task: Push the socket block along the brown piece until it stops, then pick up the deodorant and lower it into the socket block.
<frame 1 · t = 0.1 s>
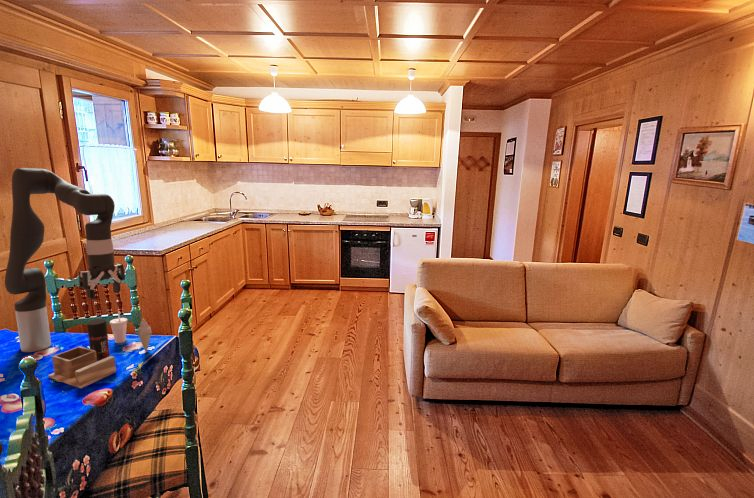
hand: (104, 295, 132), 29 cm above the table, fingers open, 8 cm apart
deodorant: (100, 357, 147), on the table
smoothie: (120, 341, 161), on the table
socket block: (75, 361, 134), point 4 cm above the table, slide at 0.0 cm
brown piece: (83, 374, 134), on the table
ice cream cone: (146, 351, 153), on the table
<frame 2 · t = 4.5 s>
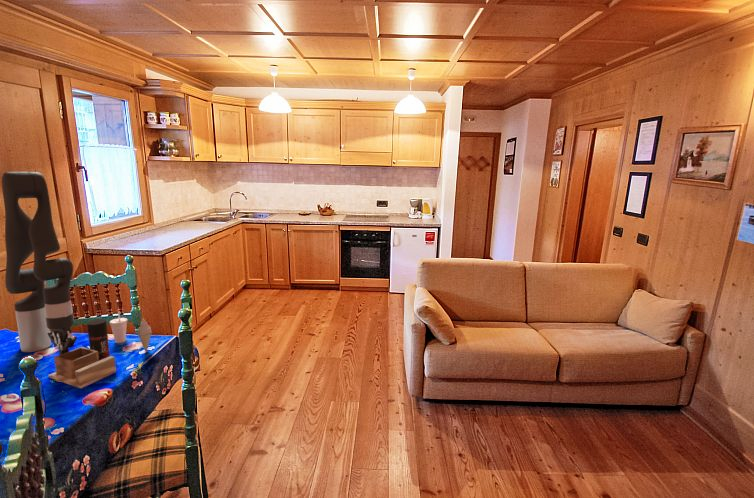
hand: (64, 357, 136), 5 cm above the table, fingers closed
socket block: (77, 362, 134), point 4 cm above the table, slide at 1.1 cm, touching gripper
everything else where it was.
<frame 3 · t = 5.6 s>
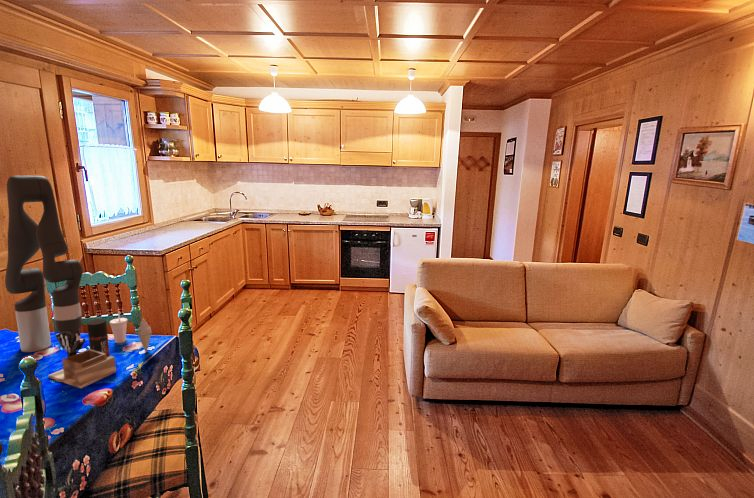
hand: (72, 360, 134), 5 cm above the table, fingers closed
socket block: (85, 364, 132), point 4 cm above the table, slide at 5.5 cm, touching brown piece, gripper
everything else where it was.
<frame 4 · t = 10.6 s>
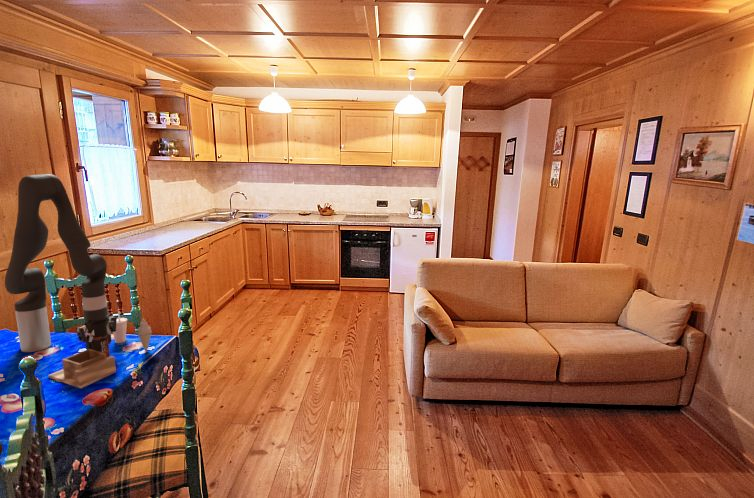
hand: (99, 346, 146), 5 cm above the table, fingers closed on deodorant, 6 cm apart
deodorant: (100, 357, 147), on the table, touching gripper
socket block: (85, 364, 132), point 4 cm above the table, slide at 5.5 cm
everything else where it was.
when the fingers open (9 cm above the table, at t = 15.4 s): deodorant drops 1 cm, resting on socket block.
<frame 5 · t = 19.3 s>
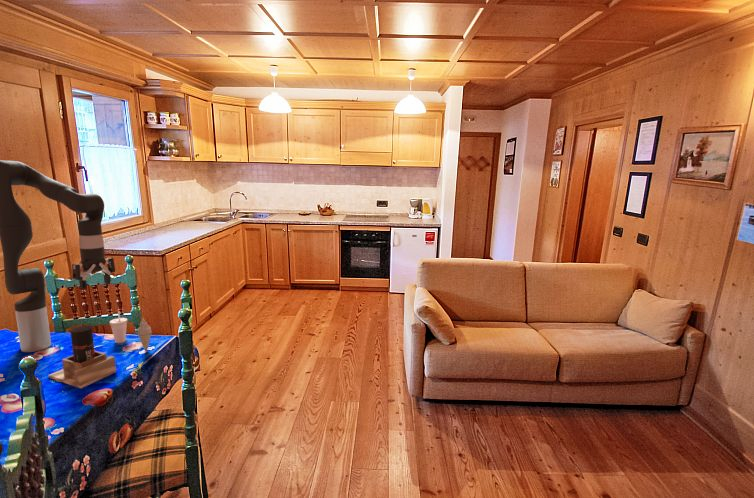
hand: (96, 286, 145), 28 cm above the table, fingers open, 8 cm apart
deodorant: (85, 368, 133), point 3 cm above the table, touching socket block
socket block: (85, 364, 132), point 4 cm above the table, slide at 5.5 cm, touching deodorant
everything else where it was.
at the end: socket block slide at 5.5 cm; deodorant 0.1 cm off-centre on the socket block, point 2.9 cm above the socket block's base; deodorant tilted 0° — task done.
